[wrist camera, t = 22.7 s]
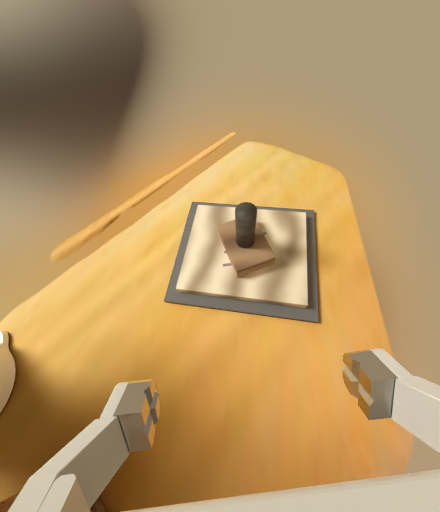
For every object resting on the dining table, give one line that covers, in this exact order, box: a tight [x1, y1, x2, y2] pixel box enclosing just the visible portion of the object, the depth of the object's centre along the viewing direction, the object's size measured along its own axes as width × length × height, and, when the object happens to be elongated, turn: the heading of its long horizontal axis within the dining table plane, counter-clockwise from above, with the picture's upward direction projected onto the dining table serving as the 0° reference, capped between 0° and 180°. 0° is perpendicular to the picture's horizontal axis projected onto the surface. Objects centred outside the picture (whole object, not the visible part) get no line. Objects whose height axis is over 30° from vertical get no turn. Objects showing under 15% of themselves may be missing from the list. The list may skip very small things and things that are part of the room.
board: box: [176, 205, 308, 308], centre depth 43 cm, size 22×19×2 cm
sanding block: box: [217, 202, 276, 277], centre depth 38 cm, size 10×7×10 cm
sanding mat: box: [164, 202, 319, 323], centre depth 44 cm, size 26×23×1 cm
